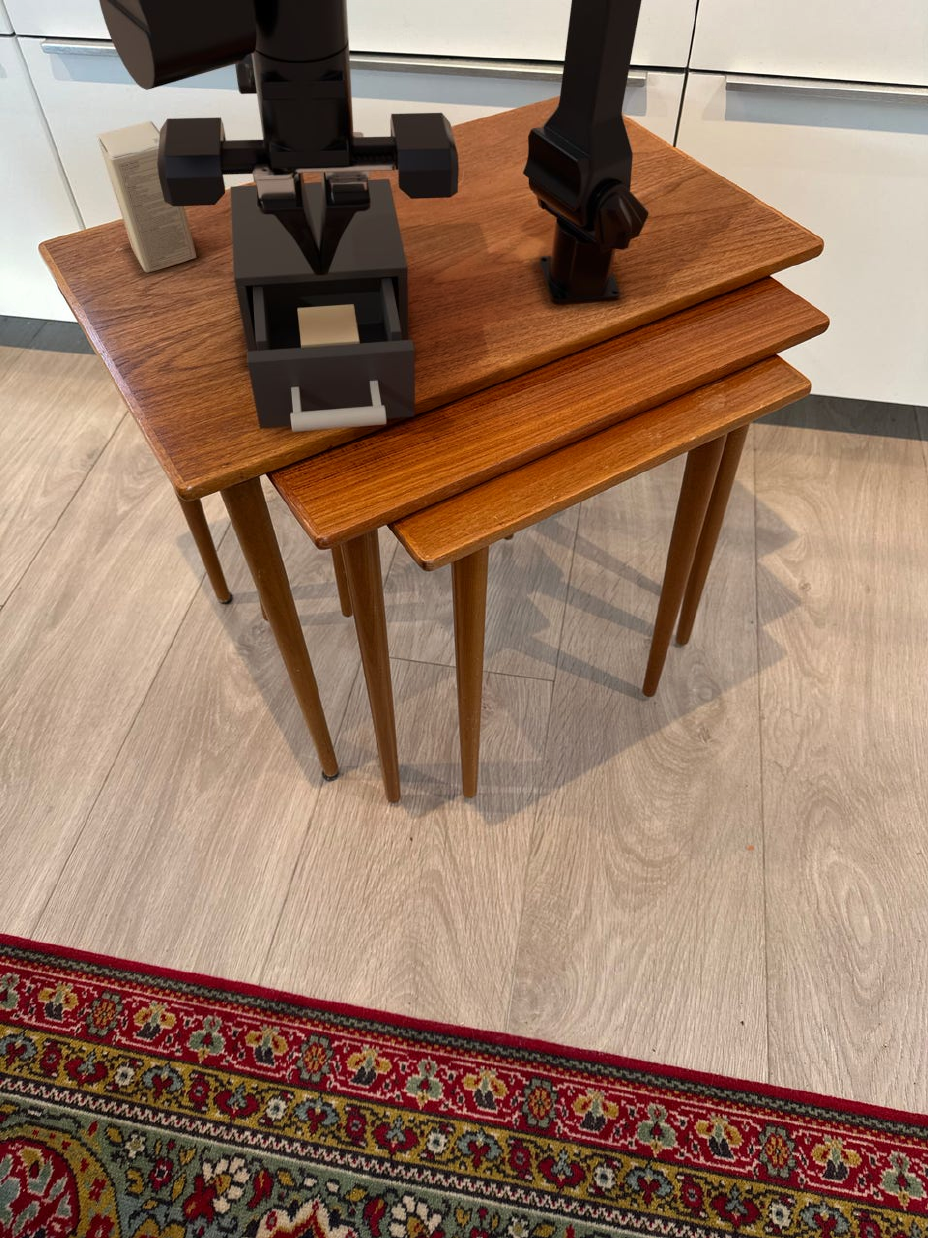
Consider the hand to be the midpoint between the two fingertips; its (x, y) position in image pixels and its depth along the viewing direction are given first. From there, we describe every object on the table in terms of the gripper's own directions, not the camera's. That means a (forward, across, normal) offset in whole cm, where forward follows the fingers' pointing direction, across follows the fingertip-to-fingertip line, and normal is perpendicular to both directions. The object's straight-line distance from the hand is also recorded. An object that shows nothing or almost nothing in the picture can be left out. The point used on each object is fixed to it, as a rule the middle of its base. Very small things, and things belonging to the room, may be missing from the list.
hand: (321, 272), depth 66 cm
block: (+10, 0, -1) cm, 10 cm away
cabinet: (+12, 0, -11) cm, 16 cm away
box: (+12, +15, -21) cm, 28 cm away
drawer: (+11, 0, 0) cm, 11 cm away
